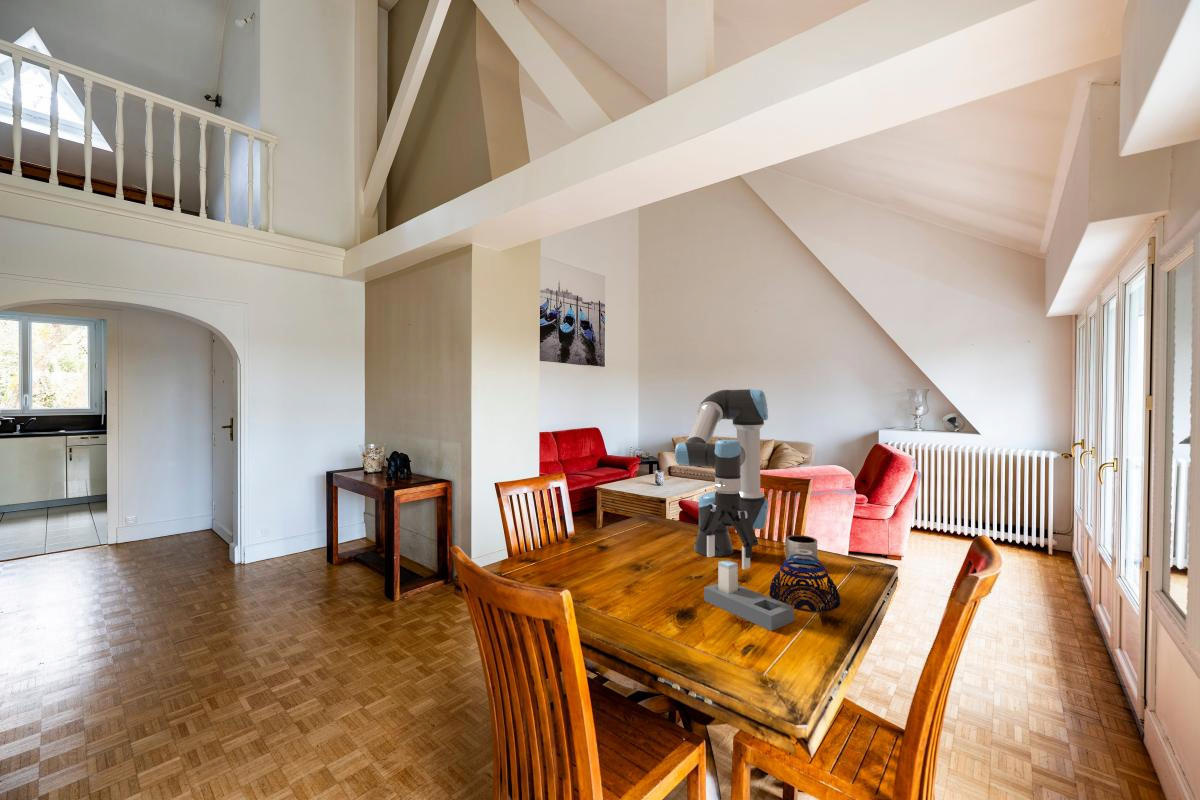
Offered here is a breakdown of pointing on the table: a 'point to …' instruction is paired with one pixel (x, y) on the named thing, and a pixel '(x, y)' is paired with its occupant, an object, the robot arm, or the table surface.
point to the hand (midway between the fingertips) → (727, 562)
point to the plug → (728, 576)
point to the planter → (801, 543)
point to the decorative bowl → (798, 583)
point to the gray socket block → (751, 606)
